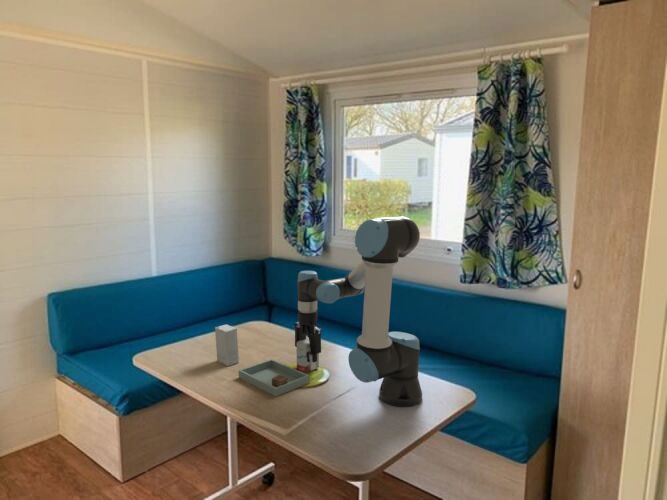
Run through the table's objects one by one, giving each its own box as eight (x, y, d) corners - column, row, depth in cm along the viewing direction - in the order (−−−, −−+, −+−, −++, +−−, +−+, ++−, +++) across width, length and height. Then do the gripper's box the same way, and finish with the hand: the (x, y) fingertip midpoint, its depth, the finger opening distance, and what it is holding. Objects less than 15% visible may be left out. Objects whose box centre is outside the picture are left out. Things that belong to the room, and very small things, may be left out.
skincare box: (239, 363, 206) (238, 328, 203) (226, 366, 202) (225, 331, 199) (228, 357, 212) (227, 323, 209) (215, 360, 208) (214, 326, 205)
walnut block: (287, 387, 181) (287, 377, 180) (280, 391, 178) (280, 381, 177) (279, 385, 183) (278, 374, 183) (271, 389, 180) (271, 378, 179)
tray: (309, 385, 186) (309, 375, 185) (275, 399, 174) (275, 389, 174) (272, 368, 201) (271, 359, 200) (238, 380, 189) (238, 370, 189)
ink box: (305, 374, 194) (305, 344, 192) (296, 370, 197) (295, 342, 195) (319, 367, 201) (319, 339, 199) (310, 364, 204) (310, 336, 202)
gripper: (331, 313, 192) (330, 370, 195) (299, 304, 204) (299, 358, 208) (317, 317, 186) (317, 376, 190) (285, 307, 199) (285, 363, 203)
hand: (307, 367), depth 199 cm, fingers closed on ink box, 5 cm apart
